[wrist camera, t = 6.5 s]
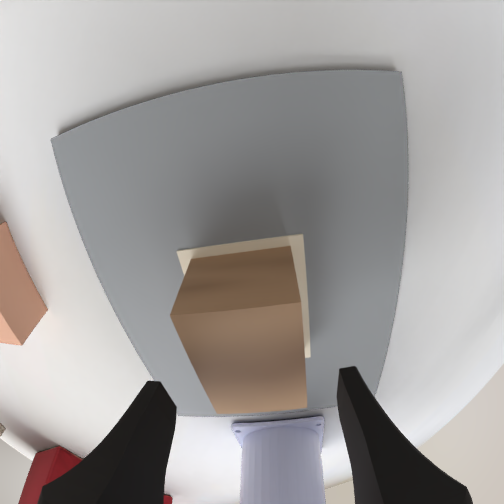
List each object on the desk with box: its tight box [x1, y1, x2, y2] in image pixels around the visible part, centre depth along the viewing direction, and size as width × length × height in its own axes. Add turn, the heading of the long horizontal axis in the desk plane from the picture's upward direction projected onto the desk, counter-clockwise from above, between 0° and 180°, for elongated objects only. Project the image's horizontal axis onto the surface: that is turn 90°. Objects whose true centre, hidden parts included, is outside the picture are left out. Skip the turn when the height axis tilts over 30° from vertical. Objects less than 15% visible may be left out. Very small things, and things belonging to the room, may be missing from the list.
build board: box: [51, 70, 408, 417], centre depth 15 cm, size 22×16×1 cm
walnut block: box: [170, 246, 307, 414], centre depth 13 cm, size 7×5×4 cm, turn 9°
